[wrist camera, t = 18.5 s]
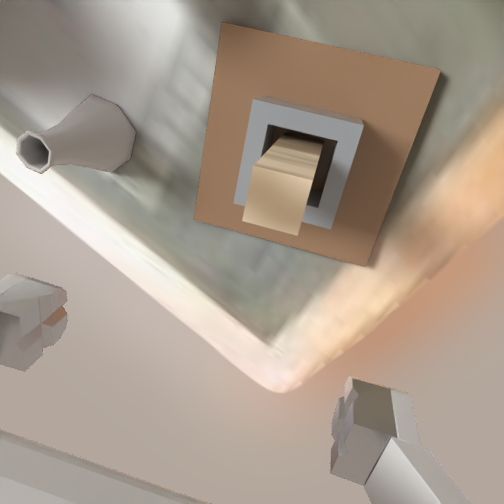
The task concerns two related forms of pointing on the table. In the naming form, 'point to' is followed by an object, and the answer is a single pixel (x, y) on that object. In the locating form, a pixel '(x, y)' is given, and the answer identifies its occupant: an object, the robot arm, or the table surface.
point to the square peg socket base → (311, 134)
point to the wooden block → (282, 183)
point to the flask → (81, 139)
